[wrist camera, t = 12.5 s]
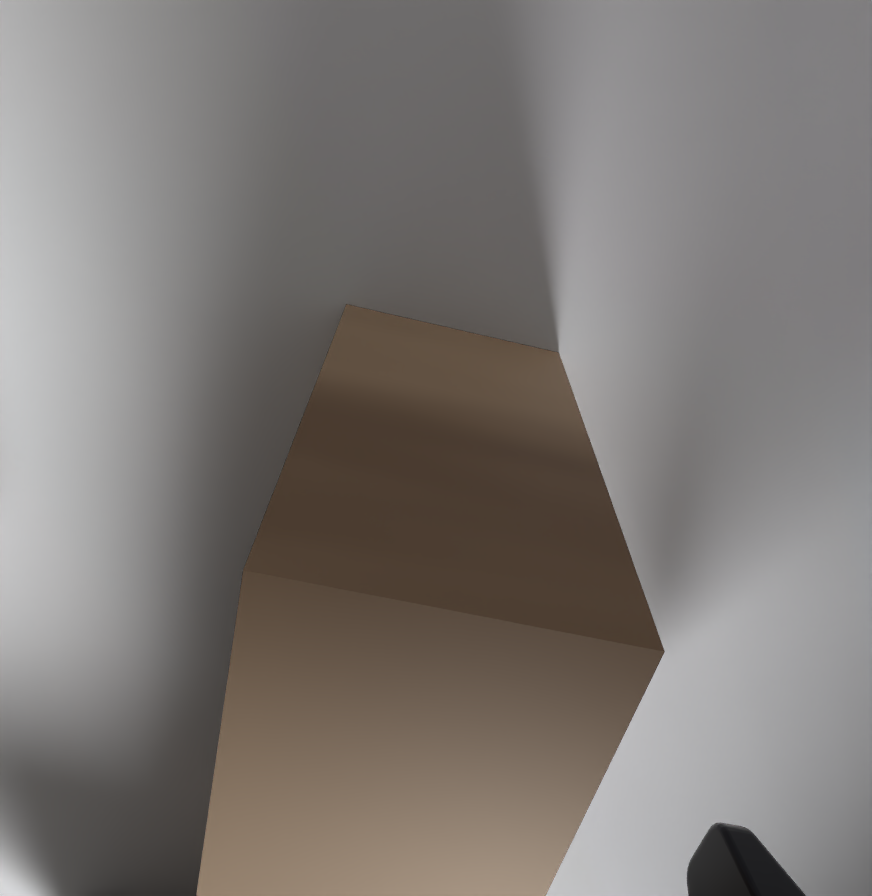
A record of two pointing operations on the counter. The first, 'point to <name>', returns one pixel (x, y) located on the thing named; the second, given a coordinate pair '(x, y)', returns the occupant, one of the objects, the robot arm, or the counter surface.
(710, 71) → the counter surface
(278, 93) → the counter surface
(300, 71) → the counter surface
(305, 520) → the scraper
